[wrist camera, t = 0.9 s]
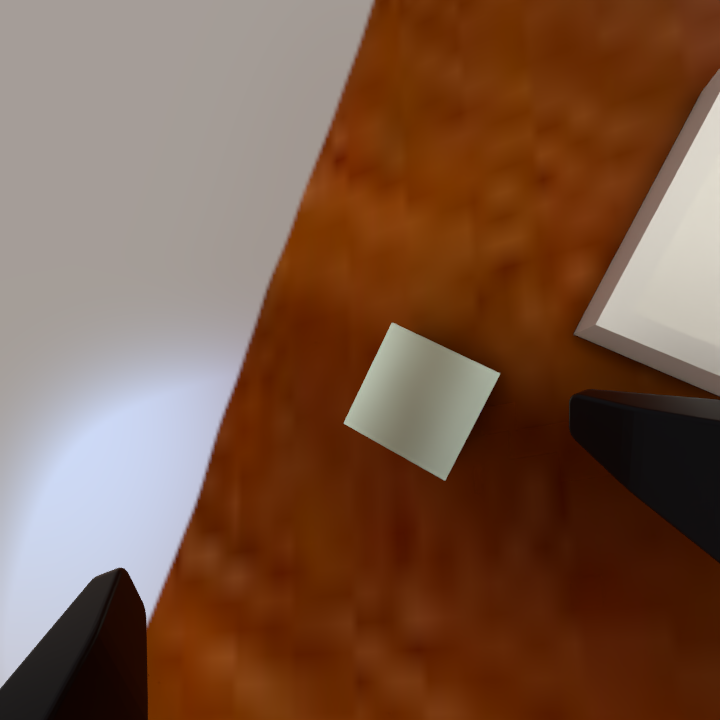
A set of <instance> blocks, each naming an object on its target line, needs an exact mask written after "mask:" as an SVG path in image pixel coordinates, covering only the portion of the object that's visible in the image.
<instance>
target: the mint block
mask: <svg viewBox="0 0 720 720" xmlns="http://www.w3.org/2000/svg"><path fill="white" fill-rule="evenodd" d="M499 375H500V373H498V372H496V371H494V370H492V369H490V368H488V367H485V366H483V365H481V364H479V363H477V362H475V361H473V360H471V359H469V358H466V357H464V356H462V355H460V354H458V353H456V352H454V351H452V350H449V349H447V348H445V347H443V346H441V345H439V344H437V343H435V342H433V341H430V340H428V339H426V338H424V337H422V336H420V335H418V334H416V333H413V332H411V331H409V330H407V329H405V328H403V327H401V326H399V325H397V324H394V323H392V324H391V326H390V328H389V330H388V332H387V334H386V336H385V338H384V340H383V342H382V344H381V346H380V349H379V351H378V353H377V355H376V357H375V359H374V361H373V363H372V365H371V367H370V369H369V371H368V374H367V376H366V378H365V380H364V382H363V384H362V386H361V388H360V390H359V392H358V394H357V396H356V398H355V401H354V403H353V405H352V407H351V409H350V411H349V413H348V415H347V417H346V419H345V421H344V424H345V425H347V426H349V427H351V428H352V429H354V430H356V431H358V432H360V433H361V434H363V435H365V436H367V437H368V438H370V439H372V440H374V441H375V442H377V443H379V444H381V445H383V446H384V447H386V448H388V449H390V450H391V451H393V452H395V453H397V454H399V455H400V456H402V457H404V458H406V459H407V460H409V461H411V462H413V463H414V464H416V465H418V466H420V467H422V468H423V469H425V470H427V471H429V472H430V473H432V474H434V475H436V476H437V477H439V478H441V479H443V480H446V478H447V476H448V474H449V472H450V470H451V468H452V467H453V465H454V463H455V461H456V459H457V457H458V455H459V453H460V451H461V449H462V447H463V445H464V443H465V441H466V439H467V437H468V436H469V434H470V432H471V430H472V428H473V426H474V424H475V422H476V420H477V418H478V416H479V414H480V412H481V410H482V408H483V406H484V405H485V403H486V401H487V399H488V397H489V395H490V393H491V391H492V389H493V387H494V385H495V383H496V381H497V379H498V377H499Z"/></svg>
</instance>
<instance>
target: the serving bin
mask: <svg viewBox="0 0 720 720" xmlns="http://www.w3.org/2000/svg"><path fill="white" fill-rule="evenodd" d="M574 335H576V336H579V337H581V338H583V339H586V340H588V341H590V342H593V343H595V344H597V345H600V346H602V347H604V348H607V349H609V350H611V351H614V352H616V353H619V354H621V355H623V356H626V357H628V358H630V359H633V360H635V361H637V362H640V363H642V364H644V365H647V366H649V367H651V368H654V369H656V370H658V371H661V372H663V373H666V374H668V375H670V376H673V377H675V378H677V379H680V380H682V381H684V382H687V383H689V384H691V385H694V386H696V387H698V388H701V389H703V390H706V391H708V392H710V393H713V394H715V395H717V396H720V69H719V70H718V71H717V73H716V74H715V75H714V77H713V78H712V79H711V80H710V82H709V83H708V84H707V86H706V87H705V88H704V89H703V91H702V92H701V94H700V96H699V98H698V100H697V101H696V103H695V105H694V107H693V109H692V111H691V113H690V115H689V117H688V118H687V120H686V122H685V124H684V126H683V128H682V130H681V132H680V134H679V135H678V137H677V139H676V141H675V143H674V145H673V147H672V149H671V151H670V152H669V154H668V156H667V158H666V160H665V162H664V164H663V166H662V168H661V169H660V171H659V173H658V175H657V177H656V179H655V181H654V183H653V185H652V186H651V188H650V190H649V192H648V194H647V196H646V198H645V200H644V202H643V203H642V205H641V207H640V209H639V211H638V213H637V215H636V217H635V219H634V220H633V222H632V224H631V226H630V228H629V230H628V232H627V234H626V236H625V237H624V239H623V241H622V243H621V245H620V247H619V249H618V251H617V253H616V254H615V256H614V258H613V260H612V262H611V264H610V266H609V268H608V269H607V271H606V273H605V275H604V277H603V279H602V281H601V283H600V285H599V286H598V288H597V290H596V292H595V294H594V296H593V298H592V300H591V302H590V303H589V305H588V307H587V309H586V311H585V313H584V315H583V317H582V319H581V320H580V322H579V324H578V326H577V328H576V330H575V332H574Z"/></svg>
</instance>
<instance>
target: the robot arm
mask: <svg viewBox="0 0 720 720" xmlns="http://www.w3.org/2000/svg"><path fill="white" fill-rule="evenodd" d="M569 430H570V433H571V435H572V437H573V438H574V439H575V440H576V441H577V442H578V443H579V444H580V445H581V446H582V447H583V448H584V449H585V450H586V451H587V452H588V453H589V454H591V455H592V456H593V457H594V458H595V459H596V460H597V461H598V462H599V463H600V464H601V465H602V466H603V467H604V468H605V469H606V470H607V471H609V472H610V473H611V474H612V475H613V476H614V477H615V478H616V479H617V480H618V481H619V482H620V483H621V484H622V485H624V486H625V487H626V488H627V489H628V490H629V491H630V492H631V493H633V494H634V495H635V496H636V497H637V498H639V499H640V500H641V501H642V502H644V503H645V504H646V505H647V506H649V507H650V508H651V509H652V510H654V511H655V512H656V513H657V514H659V515H660V516H661V517H662V518H664V519H665V520H666V521H667V522H669V523H670V524H671V525H672V526H674V527H675V528H676V529H677V530H679V531H680V532H681V533H682V534H684V535H685V536H686V537H687V538H689V539H690V540H691V541H692V542H694V543H695V544H696V545H697V546H699V547H700V548H701V549H702V550H704V551H705V552H706V553H707V554H709V555H710V556H711V557H712V558H714V559H715V560H716V561H717V562H719V563H720V400H715V399H703V398H691V397H679V396H667V395H655V394H643V393H631V392H619V391H607V390H595V389H588V390H584V391H581V392H579V393H576V394H574V395H573V396H572V397H571V399H570V402H569ZM0 720H148V690H147V635H146V612H145V608H144V605H143V602H142V600H141V598H140V596H139V594H138V592H137V590H136V588H135V586H134V584H133V582H132V580H131V578H130V576H129V574H128V572H127V571H126V570H125V569H123V568H117V569H114V570H112V571H109V572H106V573H104V574H101V575H99V576H96V577H95V578H94V579H92V580H91V582H90V583H89V584H88V585H87V586H86V587H85V588H84V590H83V591H82V592H81V593H80V594H79V596H78V597H77V598H76V599H75V600H74V602H73V603H72V604H71V605H70V606H69V608H68V609H67V610H66V611H65V612H64V614H63V615H62V616H61V617H60V619H58V621H57V622H56V623H55V624H54V625H53V627H52V628H51V629H50V630H49V631H48V632H47V634H46V635H45V636H44V637H43V639H42V640H41V641H40V642H39V643H38V644H37V646H36V647H35V648H34V649H33V650H32V652H31V653H30V654H29V655H28V656H27V657H26V659H25V660H24V661H23V662H22V664H21V665H20V666H19V667H18V668H17V669H16V671H15V672H14V673H13V674H12V675H11V676H10V678H9V679H8V680H7V681H6V682H5V684H4V685H3V686H2V687H1V688H0Z"/></svg>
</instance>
